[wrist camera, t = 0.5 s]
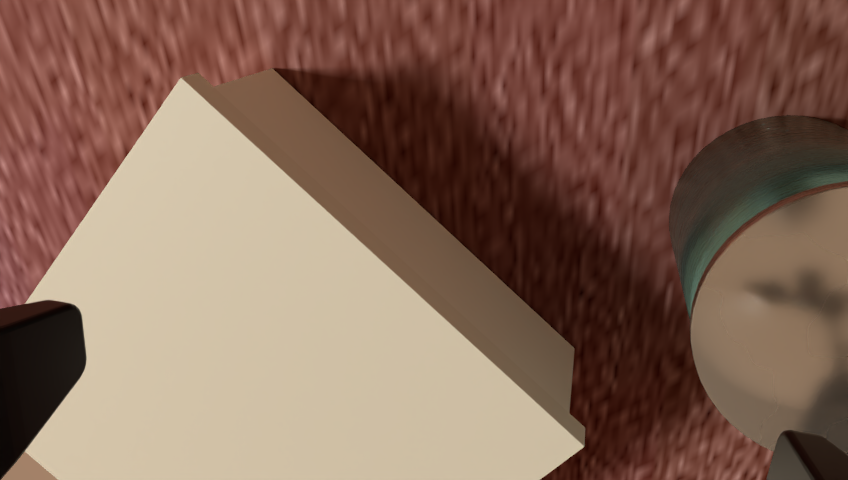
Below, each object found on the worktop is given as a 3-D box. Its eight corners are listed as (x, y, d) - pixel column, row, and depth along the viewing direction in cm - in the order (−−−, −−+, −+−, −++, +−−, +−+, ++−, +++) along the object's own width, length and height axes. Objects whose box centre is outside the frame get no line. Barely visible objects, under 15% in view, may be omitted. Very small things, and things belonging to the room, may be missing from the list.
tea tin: (949, 219, 19) (1121, 348, 13) (763, 352, 21) (830, 517, 15) (792, 63, 19) (889, 116, 12) (621, 216, 21) (628, 327, 15)
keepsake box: (588, 349, 23) (584, 446, 18) (335, 554, 28) (283, 670, 23) (270, 53, 22) (180, 77, 17) (70, 323, 27) (-40, 397, 22)
